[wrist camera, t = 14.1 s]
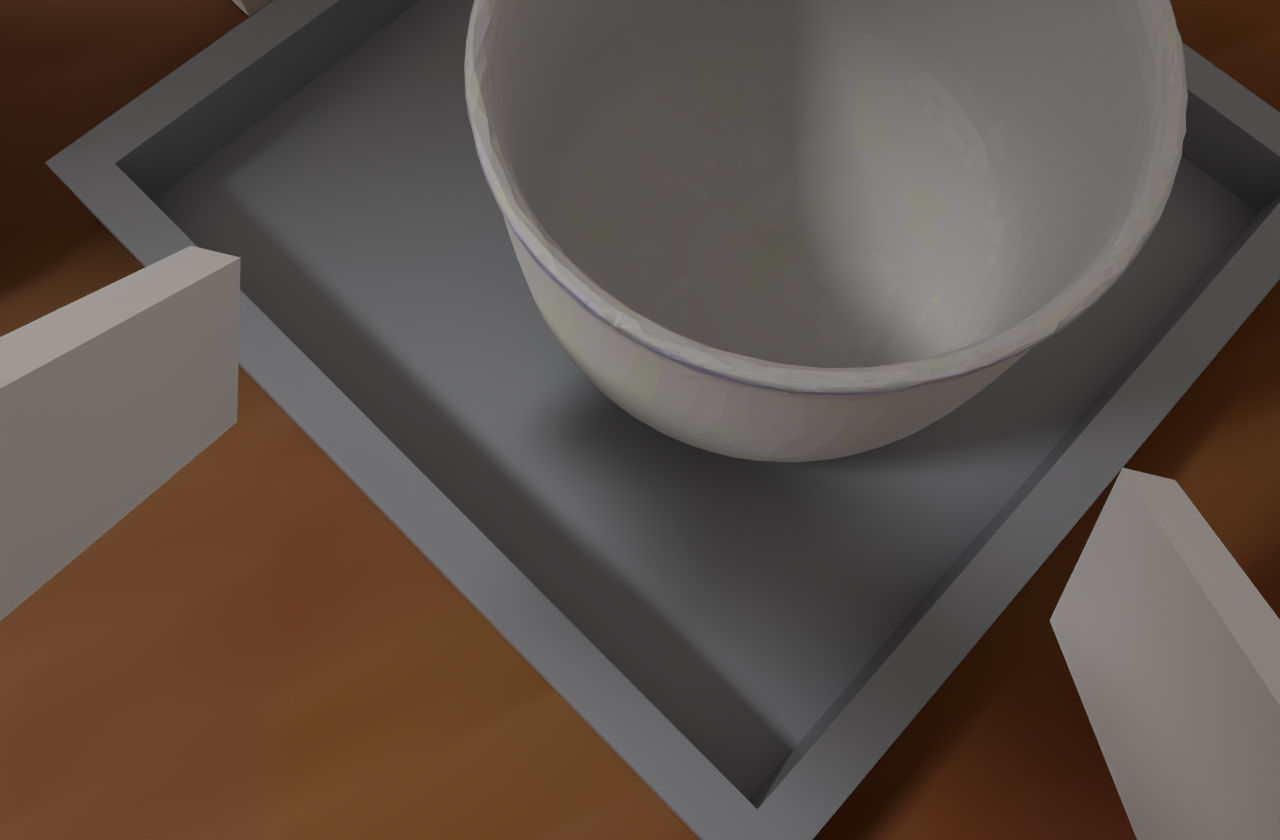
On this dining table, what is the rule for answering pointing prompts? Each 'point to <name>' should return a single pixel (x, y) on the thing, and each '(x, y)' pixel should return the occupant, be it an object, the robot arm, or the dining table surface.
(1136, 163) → the teacup
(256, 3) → the tag
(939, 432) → the tray
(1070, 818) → the dining table surface
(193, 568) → the dining table surface
